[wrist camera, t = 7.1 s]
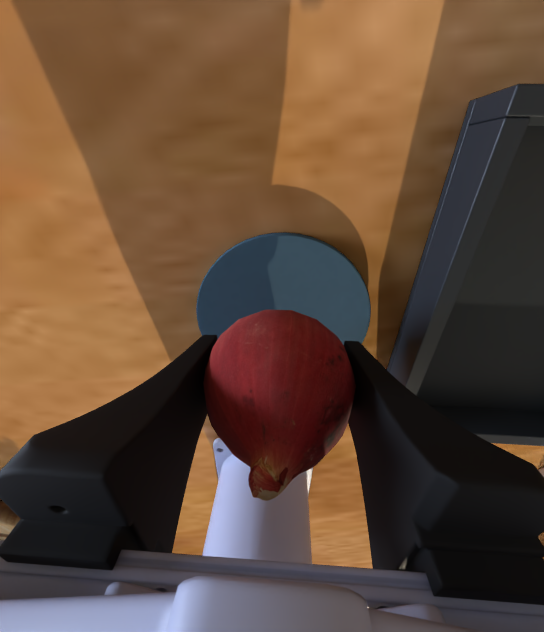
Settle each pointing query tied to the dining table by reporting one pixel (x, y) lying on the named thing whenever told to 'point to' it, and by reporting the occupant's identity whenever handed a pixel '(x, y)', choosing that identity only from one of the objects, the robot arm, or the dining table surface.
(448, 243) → the tray
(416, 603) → the robot arm
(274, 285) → the mat
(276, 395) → the onion
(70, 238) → the dining table surface
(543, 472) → the screw
